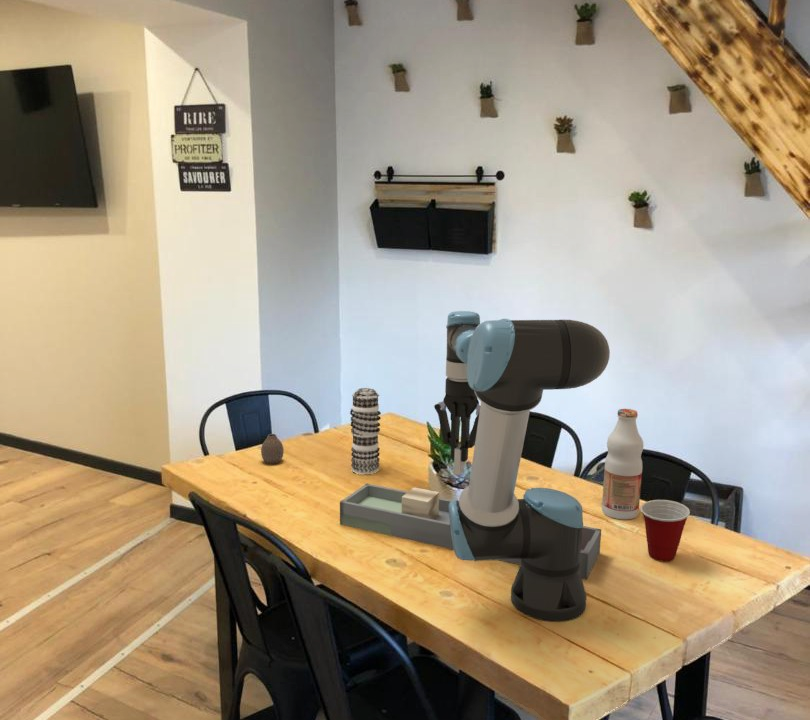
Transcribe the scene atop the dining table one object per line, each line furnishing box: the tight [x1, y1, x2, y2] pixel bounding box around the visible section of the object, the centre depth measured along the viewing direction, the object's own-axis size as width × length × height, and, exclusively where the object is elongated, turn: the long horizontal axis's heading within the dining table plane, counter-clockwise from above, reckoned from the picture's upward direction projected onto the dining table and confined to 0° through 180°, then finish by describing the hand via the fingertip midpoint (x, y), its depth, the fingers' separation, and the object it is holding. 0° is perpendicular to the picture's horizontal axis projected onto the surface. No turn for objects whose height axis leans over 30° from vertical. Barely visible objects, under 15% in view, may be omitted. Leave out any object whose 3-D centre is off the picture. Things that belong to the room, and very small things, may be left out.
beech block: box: [401, 487, 440, 520], centre depth 186 cm, size 7×7×6 cm
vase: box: [260, 433, 285, 465], centre depth 232 cm, size 7×7×9 cm
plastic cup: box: [639, 499, 691, 562], centre depth 173 cm, size 11×11×12 cm
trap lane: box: [339, 483, 602, 580], centre depth 182 cm, size 14×62×6 cm, turn 64°
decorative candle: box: [349, 387, 382, 475], centre depth 225 cm, size 9×9×25 cm
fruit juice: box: [601, 408, 644, 520], centre depth 195 cm, size 9×9×28 cm
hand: (458, 473), depth 180 cm, fingers closed
